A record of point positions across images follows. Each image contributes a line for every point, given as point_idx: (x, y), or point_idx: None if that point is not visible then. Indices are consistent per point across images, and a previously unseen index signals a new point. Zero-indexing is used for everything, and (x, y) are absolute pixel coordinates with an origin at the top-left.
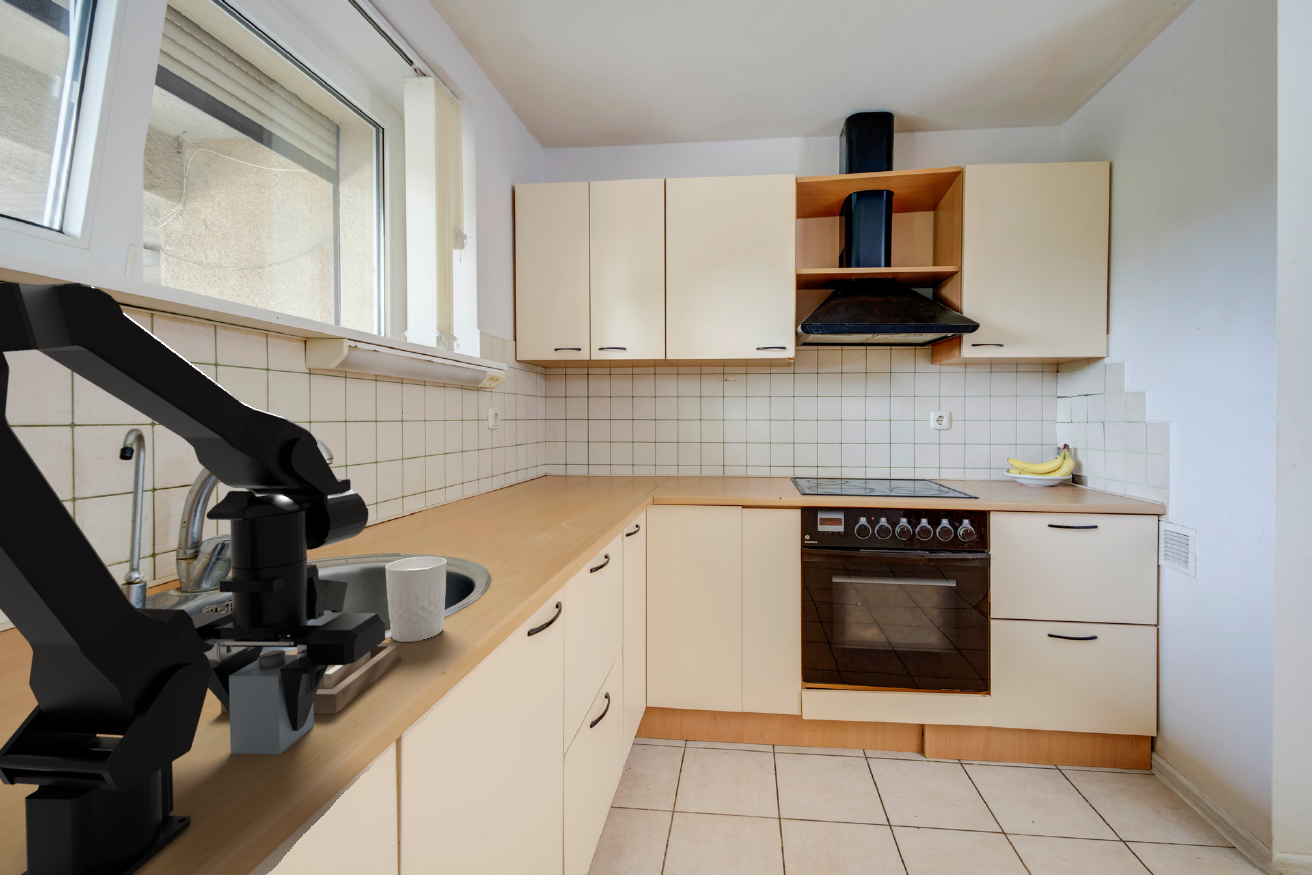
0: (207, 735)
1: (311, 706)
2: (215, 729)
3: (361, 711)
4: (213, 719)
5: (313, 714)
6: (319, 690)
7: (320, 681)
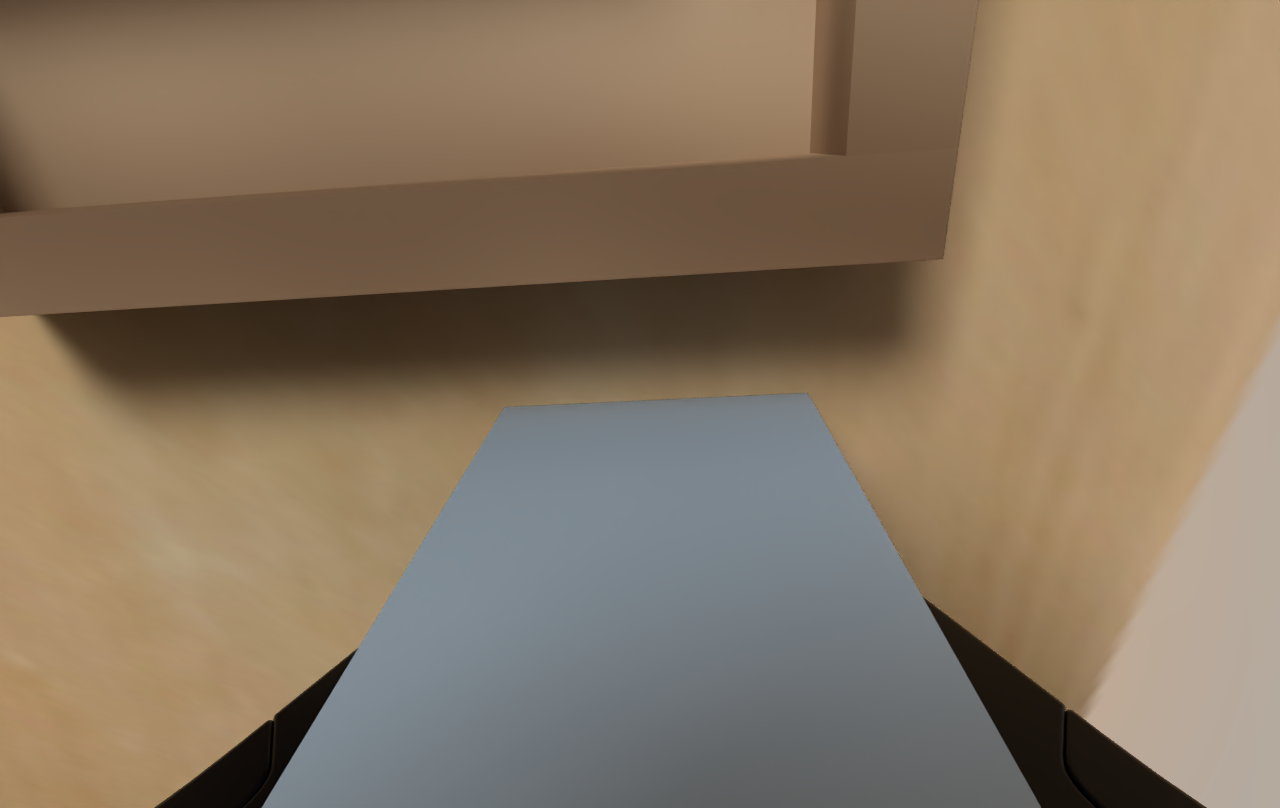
0: (254, 516)
1: (928, 601)
2: (227, 464)
3: (1072, 172)
4: (76, 368)
5: (827, 428)
6: (720, 197)
7: (1146, 771)
